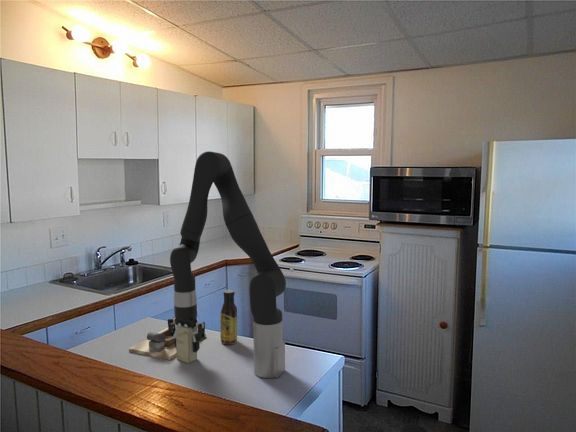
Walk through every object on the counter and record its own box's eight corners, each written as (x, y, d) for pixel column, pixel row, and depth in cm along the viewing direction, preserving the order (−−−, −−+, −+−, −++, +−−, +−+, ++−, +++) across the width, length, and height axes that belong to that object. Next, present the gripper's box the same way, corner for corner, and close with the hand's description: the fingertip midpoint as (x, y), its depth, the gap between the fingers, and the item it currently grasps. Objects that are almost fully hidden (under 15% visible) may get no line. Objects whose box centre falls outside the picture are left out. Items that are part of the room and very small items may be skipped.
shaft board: (205, 336, 174) (205, 319, 173) (170, 359, 154) (169, 339, 153) (168, 330, 181) (167, 313, 180) (128, 351, 161) (127, 332, 160)
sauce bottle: (217, 342, 169) (215, 290, 167) (230, 337, 174) (229, 287, 171) (227, 347, 165) (226, 294, 162) (241, 342, 169) (240, 290, 167)
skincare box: (176, 359, 155) (174, 325, 153) (185, 354, 159) (184, 321, 157) (188, 363, 151) (187, 328, 150) (198, 358, 155) (197, 324, 154)
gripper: (209, 302, 153) (210, 348, 155) (174, 297, 159) (176, 342, 161) (196, 308, 146) (198, 357, 148) (161, 303, 152) (163, 350, 154)
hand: (187, 349), depth 155 cm, fingers closed on skincare box, 6 cm apart
